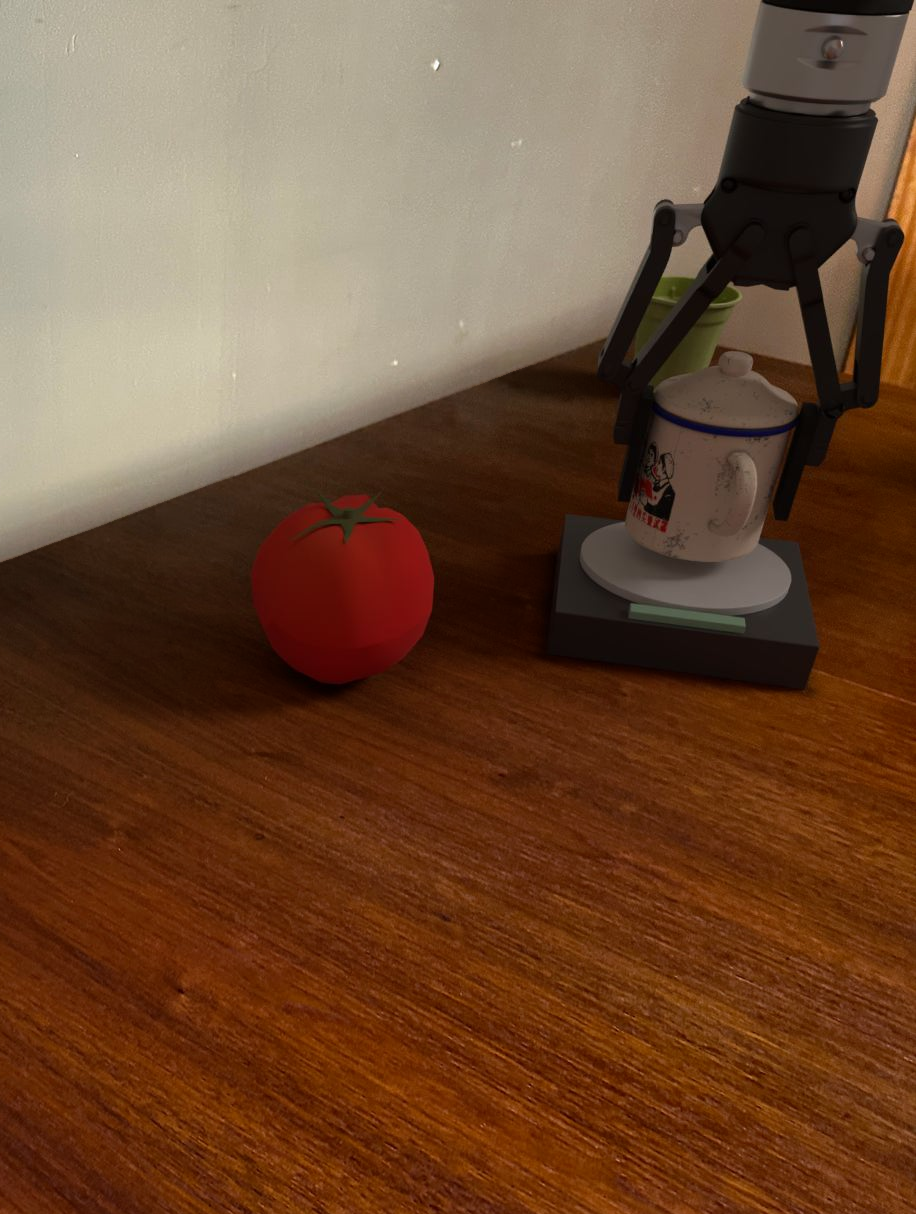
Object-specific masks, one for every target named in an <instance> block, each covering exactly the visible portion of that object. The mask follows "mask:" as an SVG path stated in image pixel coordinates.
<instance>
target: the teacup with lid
mask: <svg viewBox="0 0 916 1214" xmlns="http://www.w3.org/2000/svg"><path fill="white" fill-rule="evenodd" d="M753 364H754V359H753V356H752V355H750V354H749V353H747V352H743V351H738V350H737V351H736V350H730V351H725V352H723V353H722V354H721V355H720V356H719V358H718V362H717V365H712V366H711V365H710V366H708V367H707V368H704V369H701V370H699V371H697V372H695V373H692V374H683V375H678V376H674V377H671V378H668V379H666V380H664V381H662V382H661V383H660V384H659V385H658V386H657V387H656V388H655V390H654V401H653V406H652V410H651V414H650V418H649V423H648V427H647V431H646V435H645V440H644V444H643V448H642V452H641V457H640V461H639V465H638V469H637V474H636V478H635V482H634V486H633V491H632V495H631V499H630V503H629V502H628V507H627V511H626V516H625V519H624V521H625V527H626V530H627V532H628V534H629V535H630V536H631V537H632V539H634V540H635V541H636V542H637V543H639V544H640V545H642V546H643V547H645V548H647V549H649V550H652V551H654V552H657V553H659V554H662V555H666V556H669V557H673V558H678V559H683V560H689V561H698V562H721V561H729V560H734V559H738V558H740V557H743V556H745V555H747V554H749V553H750V552H752V551H753V550H754V549H755V547H756V546H757V544H758V541H759V538H761V534H762V531H763V528H764V524H765V520H766V518H767V514H768V510H769V507H770V504H771V500H772V497H773V495H774V492H775V491H774V490H775V487H776V483H777V480H778V477H779V474H780V471H781V467H782V464H783V460H784V457H785V453H786V450H787V447H788V444H789V440H790V437H791V434H792V430H793V429H795V426H796V425H797V423H798V421H799V413H800V409H799V404H798V402H797V401H796V399H795V398H794V397H793V396H792V395H791V394H790V393H789V392H788V391H785V390H784V389H782V388H780V387H778V386H776V385H773V384H771V383H770V382H769V381H768V380H767V379H766V378H765V377H764V376H763V375H761V374H760V373H758V372H756V371H753V370H752V369H753V368H752V367H753Z"/></svg>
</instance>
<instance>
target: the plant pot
mask: <svg viewBox="0 0 916 1214" xmlns="http://www.w3.org/2000/svg"><path fill="white" fill-rule="evenodd" d="M695 278H696V277H694V276H684V275H662V277H661V279H660V282H659V284H658V286H657V288H656V290H655V292H654V295H653V297H652V299H651V301H650V303H649V305H648V308H647V310H646V312H645V314H644V316H643V318H642V321H641V323H640V325H639V327H638V329H637V332H636V334H635V343H634V353H633V354H634V355H633V359H634V358H635V357H636V356H637V354H638V353H639V352H640V350H641V349H642V348H643V346H644V345H645V344H646V342H647V341H648V340H649V339H650V337H651V336H652V335H653V333H654V332H655V331H656V329H657V328H658V327H659V325H660V324H661V323H662V322H663V320H664V319H665V318H666V316H667V315H668V314H669V312H670V311H671V310H672V308H673V307H674V306H675V305H676V303H677V302H678V301H679V299H680V298H681V297H682V295H683V294H684V293H685V291H686V290H687V289H688V288H689V286H690V285H691V284H692V282H693V281H694V280H695ZM742 298H743V294H742V292H741V291H740V290H739V289H737V288H736V287H735V286H733V285H729V284H728V285H727V286H726V288H725V289H724V290H723V291H722V293H721V294H720V295H719V296H718V297H717V298H716V299H715V300H714V301H713V302H712V303H711V304H710V305H709V307H708V308H707V309H706V310H705V312H704V313H703V314H702V316H701V317H700V318H699V319H698V321H697V322H696V323H695V324H694V326H693V327H692V328H691V330H690V331H689V332H688V333H687V335H686V336H685V337H684V339H683V340H682V341H681V342H680V344H679V345H678V346H677V348H676V349H675V350H674V351H673V353H672V354H671V355H670V356H669V358H668V359H667V360H666V362H665V363H664V364H663V365H662V367H661V368H660V369H659V371H658V372H657V373H656V374H655V376H654V377H653V378H652V379H651V381H650V382H649V383H648V385H652V386H654V390H655V388H656V387H657V386H658V385H659V384H660V383H661V382H662V381H664V380H666V379H668V378H671V377H674V376H678V375H683V374H692V373H695V372H697V371H699V370H701V369H704V368H707V367H710V364H711V361H712V358H713V356H714V353H715V350H716V348H717V345H718V343H719V341H720V337H721V335H722V332H723V330H724V328H725V325H726V322H727V321H728V320H729V319H730V317H731V315H732V313H733V311H734V309H735V306H737V305H738V304H739V303H740V302H741V301H742Z"/></svg>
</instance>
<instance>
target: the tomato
mask: <svg viewBox="0 0 916 1214" xmlns="http://www.w3.org/2000/svg"><path fill="white" fill-rule="evenodd" d="M315 492H316V493H317V495H318V496H319V497H320V499H321V501H322V502H311V503H309V504H307V505H305V506H303V507H301V508H299V509H298V510H296V511H294V512H292V513H290V514H289V515H287V516H286V517H284V518H283V520H282V521H281V522H279V523H278V525H277V526H275V528H274V529H273V530H272V531H271V533H270V534H268V536H267V537H266V539H265V540H264V541H263V542H262V543H261V544H260V546H259V548H258V551H257V553H256V556H255V558H254V561H253V565H252V568H251V570H250V585H251V593H252V600H253V608H254V611H255V613H256V615H257V618H258V620H259V623H260V624H261V627H262V629H263V631H264V633H265V635H266V638H267V640H268V643H269V644H270V647H271V648H272V650H273V651H274V652H275V653H276V655H278V657H279V658H281V659H282V660H283V661H284V662H285V663H286V664H287V665H289V666H290V667H291V668H292V669H293V670H294V671H297V672H299V673H301V674H303V675H305V676H307V677H309V678H311V679H313V680H315V681H316V682H319V683H322V684H331V685H339V686H340V685H343V684H347V683H351V682H354V681H358V680H360V679H364V678H369V677H373V676H375V675H379V674H382V673H383V672H386V671H387V670H390V668H392V667H393V666H395V665H396V664H398V663H399V662H400V661H402V660H404V658H406V656H407V655H408V654H409V652H410V651H411V650H412V649H413V648H414V646H415V645H416V644H417V643H418V642H419V640H420V639H421V638H422V637H423V635H424V633H425V630H426V628H427V625H428V622H429V619H430V617H431V614H432V612H433V605H434V604H433V603H434V590H435V589H434V588H435V575H434V571H433V567H432V563H431V559H430V554H429V551H428V549H427V546H426V544H425V542H424V540H423V537H422V536H421V533H420V531H419V530H418V529H417V528H416V527H415V526H414V524H412V522H410V520H409V519H408V518H407V517H405V515H403V514H402V513H400V512H398V511H395V510H394V509H392V508H390V507H379V506H378V505H377V504H376V503H375V501H376V500H377V498H378V497H379V496H380V495H381V494H382V493H383V491H380V492H378V493H377V494H376V495H375V496H373V497H372V498H370V497H369V496H368V495H367V494H353V495H352V494H349V495H347V494H346V495H342V496H340V497H339V498H338V499H335V500H334V501H333V502H331V501H330V500H329V499H328V498H327V497H326V496H324V494H323V493H322V492H321V491H319V490H315Z"/></svg>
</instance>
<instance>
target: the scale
mask: <svg viewBox="0 0 916 1214" xmlns="http://www.w3.org/2000/svg"><path fill="white" fill-rule="evenodd" d="M556 554H557V555H556V564H555V573H554V582H553V591H552V599H551V610H550V617H549V628H548V634H547V635H548V636H547V647H546V654H547V655H551V656H552V655H553V656H560V657H564V658H565V657H566V658H574V659H580V660H581V659H582V660H588V661H595V662H601V663H609V664H616V665H624V666H631V667H638V668H645V669H646V668H647V669H652V670H661V671H667V672H675V673H680V674H687V675H689V674H690V675H695V676H696V675H697V676H703V677H710V678H718V679H725V680H732V681H740V682H747V683H754V684H759V685H769V686H776V687H781V688H782V687H783V688H789V689H798V690H806V687H807V685H808V682H809V678H810V676H811V673H812V670H813V668H814V665H815V663H816V659H817V656H818V653H819V650H820V643H819V638H818V632H817V628H816V623H815V618H814V613H813V608H812V604H811V599H810V594H809V589H808V584H807V579H806V574H805V569H804V564H803V559H802V555H801V554H802V553H801V549H800V544H799V542H798V541H791V540H783V539H775V538H766V537H760V538H759V541H758V544H757V546H756V547H755V549H754V550H753V551H752V552H750V553H749V554H747V555H745V556H743V557H740V558H738V559H734V560H729V561H721V562H698V561H689V560H683V559H678V558H673V557H669V556H666V555H662V554H659V553H657V552H654V551H652V550H649V549H647V548H645V547H643V546H642V545H640V544H639V543H637V542H636V541H635V540H634V539H632V537H631V536H630V535H629V534H628V532H627V530H626V527H625V520H620V519H613V518H612V519H611V518H603V517H595V516H588V515H587V516H586V515H580V514H579V515H578V514H571V513H565V515H564V519H563V524H562V530H561V534H560V539H559V544H558V548H557V553H556Z"/></svg>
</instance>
